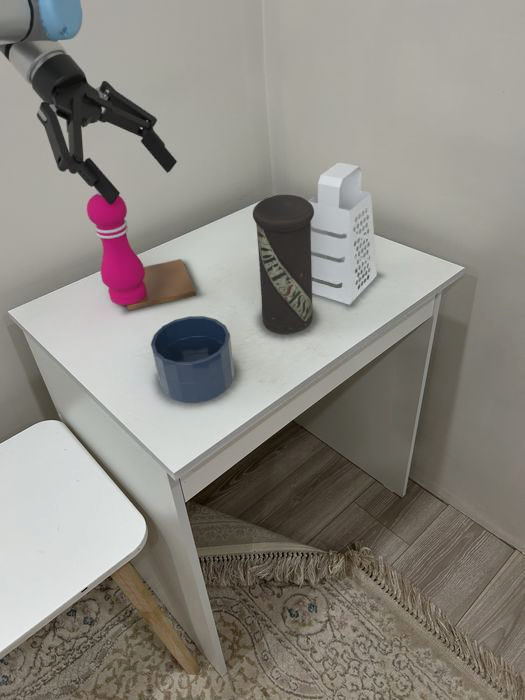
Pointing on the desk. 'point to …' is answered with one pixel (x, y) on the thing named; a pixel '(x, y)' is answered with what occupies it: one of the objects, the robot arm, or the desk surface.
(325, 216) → the grater
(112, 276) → the pepper mill
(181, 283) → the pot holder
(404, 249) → the desk surface
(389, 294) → the desk surface
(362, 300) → the desk surface
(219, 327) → the pot
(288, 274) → the container
